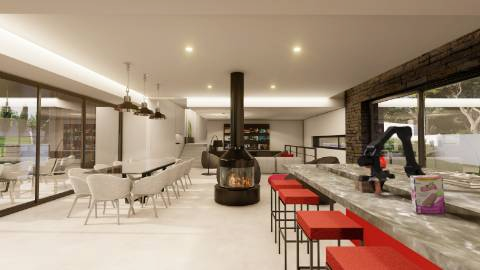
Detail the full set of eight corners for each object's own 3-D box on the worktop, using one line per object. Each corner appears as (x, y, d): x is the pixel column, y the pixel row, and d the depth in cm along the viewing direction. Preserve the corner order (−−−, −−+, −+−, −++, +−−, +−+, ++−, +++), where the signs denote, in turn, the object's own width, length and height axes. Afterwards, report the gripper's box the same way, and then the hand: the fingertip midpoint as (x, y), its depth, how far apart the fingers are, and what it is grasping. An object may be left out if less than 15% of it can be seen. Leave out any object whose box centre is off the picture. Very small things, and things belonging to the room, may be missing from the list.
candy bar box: (416, 214, 112) (413, 177, 113) (412, 211, 117) (409, 175, 117) (446, 214, 109) (442, 176, 110) (440, 211, 114) (437, 174, 114)
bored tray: (355, 188, 171) (354, 179, 171) (373, 187, 170) (372, 178, 170) (362, 192, 159) (361, 182, 159) (382, 191, 158) (381, 181, 158)
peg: (375, 193, 153) (374, 180, 153) (381, 194, 151) (380, 180, 151) (374, 195, 151) (373, 181, 151) (380, 195, 149) (379, 181, 149)
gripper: (364, 167, 144) (367, 195, 144) (399, 165, 142) (401, 193, 142) (357, 165, 155) (359, 191, 155) (389, 163, 154) (391, 189, 153)
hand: (377, 191), depth 151 cm, fingers closed on peg, 3 cm apart
